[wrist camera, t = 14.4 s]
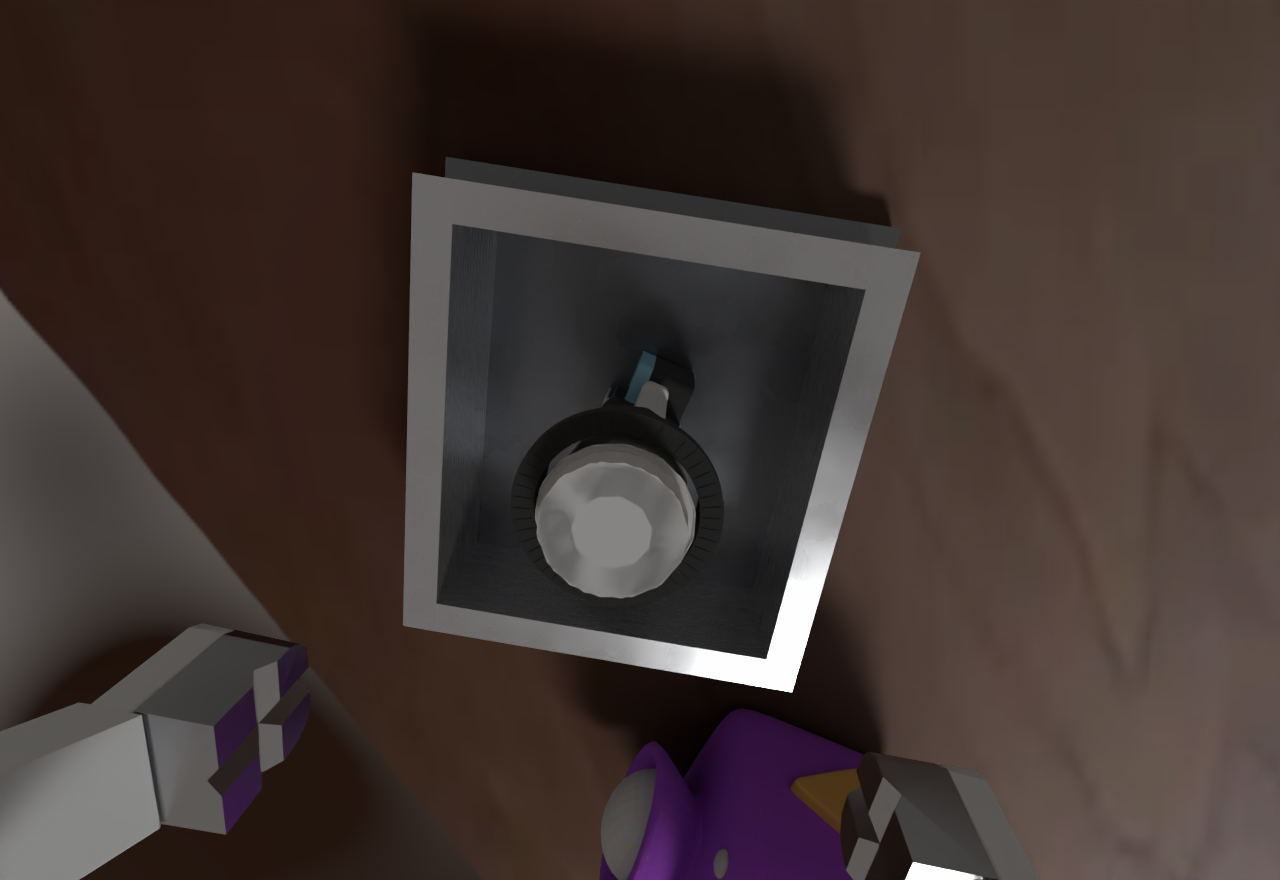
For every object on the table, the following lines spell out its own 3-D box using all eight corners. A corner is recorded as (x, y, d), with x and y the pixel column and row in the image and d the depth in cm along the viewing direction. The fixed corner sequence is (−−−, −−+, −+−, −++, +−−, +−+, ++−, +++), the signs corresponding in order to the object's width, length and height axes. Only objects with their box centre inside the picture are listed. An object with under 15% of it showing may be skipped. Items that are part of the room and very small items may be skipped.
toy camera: (633, 661, 29) (608, 872, 19) (911, 725, 29) (1023, 967, 19) (590, 821, 32) (551, 1065, 23) (837, 878, 32) (901, 1144, 23)
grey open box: (892, 228, 22) (958, 226, 16) (784, 621, 27) (808, 713, 22) (456, 160, 22) (384, 136, 17) (438, 563, 27) (381, 640, 22)
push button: (661, 522, 25) (648, 698, 15) (542, 472, 24) (454, 621, 15) (732, 378, 23) (767, 481, 13) (603, 321, 22) (544, 385, 13)
